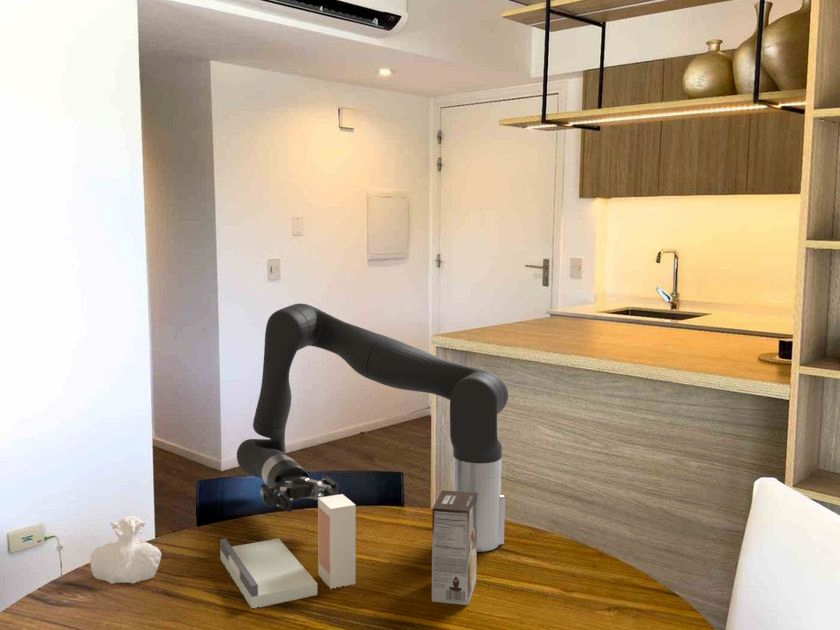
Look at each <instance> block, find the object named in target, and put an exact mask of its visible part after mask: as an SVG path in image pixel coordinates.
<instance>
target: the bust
mask: <svg viewBox="0 0 840 630" xmlns="http://www.w3.org/2000/svg"><path fill="white" fill-rule="evenodd" d="M110 525H111V526H112V530H115V532H114V533H115V535H116V537H117V538H118V540H117V541H115V542H109V543H105V544H104V545H102V546H97V547H96V548H95V549H94V550H93V551H92V552H90V553H91V554H90V558H89V563H90V570H91V573H92V575H93V577H94V578H95V579H96V580H99V581H103V582H105V581H106V582H107V583H109V584H112V585H113V584H127V583H129V584H137V583H138V582H141V581H146V580H150V579H153V578H154V577H155V575H156V573H157V571H158V568H159V565H160V562H161V559H162V552H161V550H160V549H159V548H158V547H157V546H155V545H152V544H151V543H149V542H146V541H143V542H140V539H139V538H138V535H137V534H140V535H141V534H143V527H145V526H146V522H144V521H143V520H141V519H140V518H139V517H138V516H135V515H127V516H124V517H122V518H121V519H120V518H119V520H115V522H114V521H113V522H110Z"/></svg>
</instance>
